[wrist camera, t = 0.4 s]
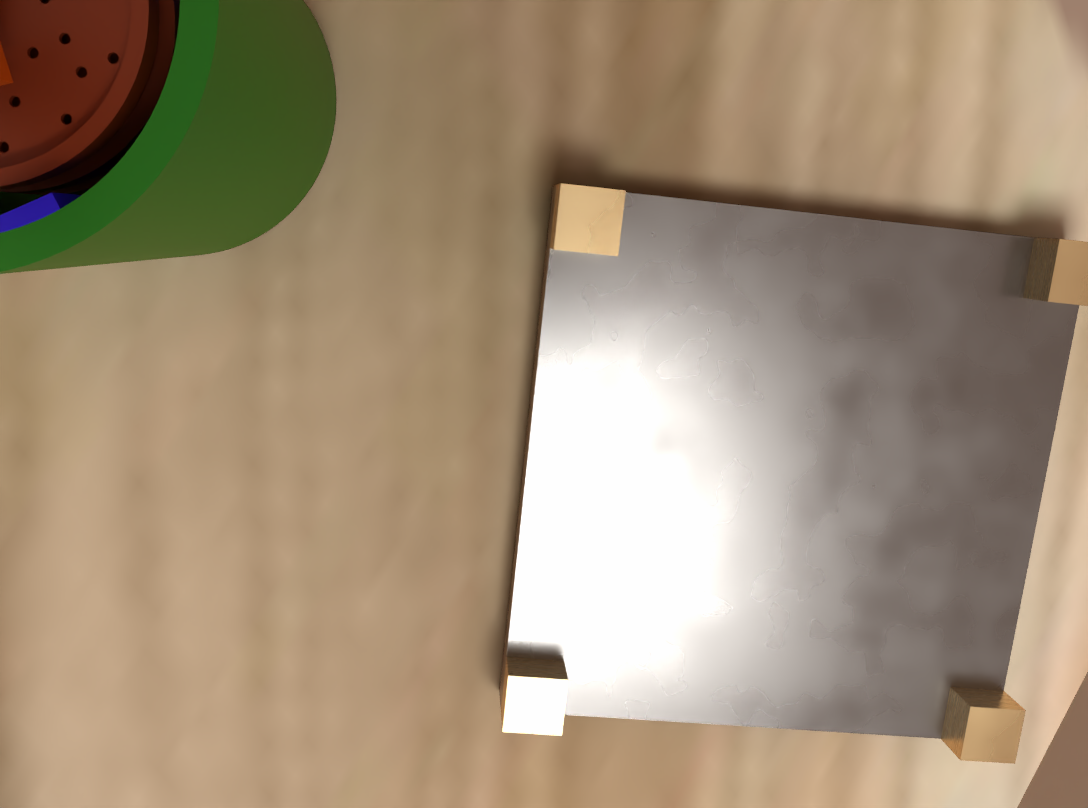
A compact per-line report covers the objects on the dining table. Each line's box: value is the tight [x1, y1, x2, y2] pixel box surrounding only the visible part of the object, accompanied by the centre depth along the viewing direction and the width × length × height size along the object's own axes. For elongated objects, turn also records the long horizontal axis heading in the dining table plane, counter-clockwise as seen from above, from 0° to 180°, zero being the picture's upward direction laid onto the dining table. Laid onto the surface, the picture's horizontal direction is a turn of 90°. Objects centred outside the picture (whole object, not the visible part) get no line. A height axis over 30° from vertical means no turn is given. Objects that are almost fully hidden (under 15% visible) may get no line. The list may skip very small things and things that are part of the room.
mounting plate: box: [499, 183, 1088, 763], centre depth 35 cm, size 18×18×3 cm
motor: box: [0, 0, 336, 274], centre depth 23 cm, size 10×9×20 cm
